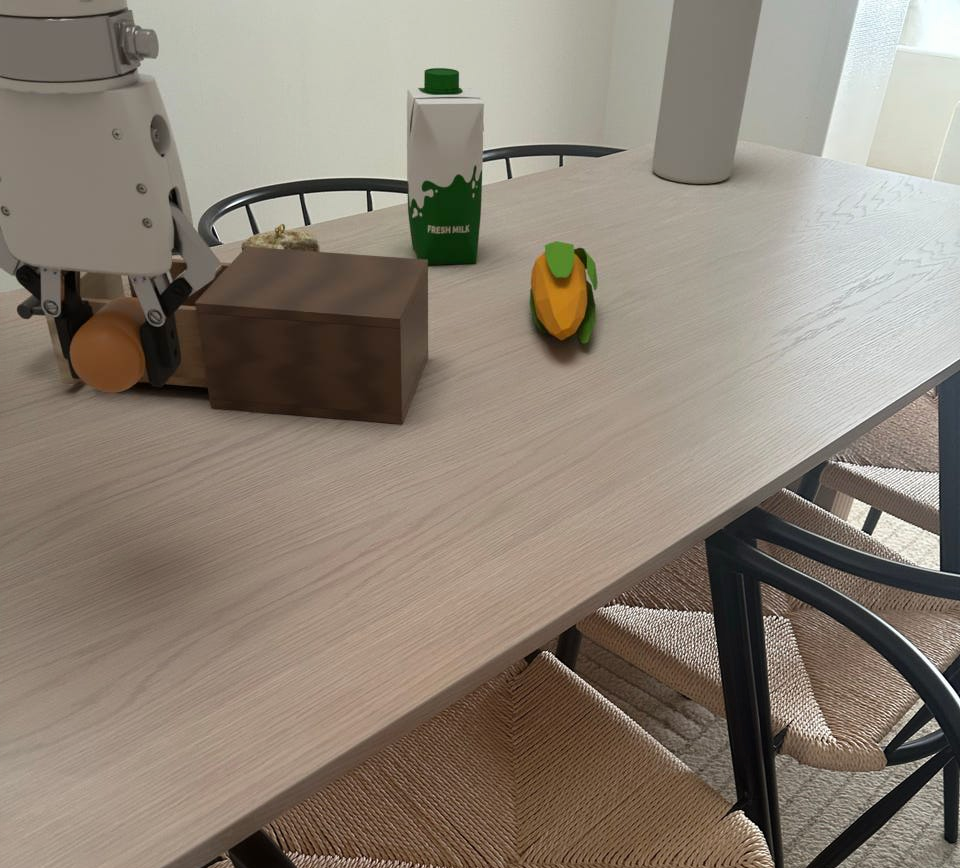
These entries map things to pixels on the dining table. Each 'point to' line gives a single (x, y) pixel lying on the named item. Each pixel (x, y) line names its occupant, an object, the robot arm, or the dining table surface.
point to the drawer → (110, 287)
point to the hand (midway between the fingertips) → (125, 371)
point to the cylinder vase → (704, 88)
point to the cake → (284, 240)
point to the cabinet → (316, 334)
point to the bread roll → (110, 347)
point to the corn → (563, 291)
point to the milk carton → (444, 168)
